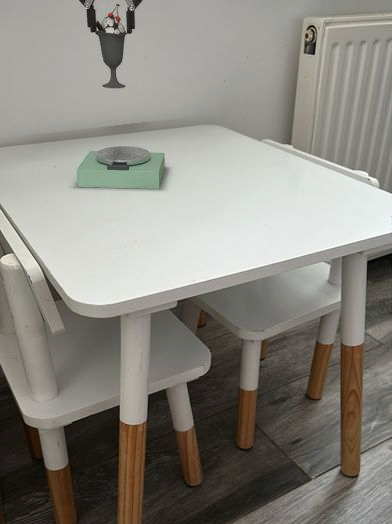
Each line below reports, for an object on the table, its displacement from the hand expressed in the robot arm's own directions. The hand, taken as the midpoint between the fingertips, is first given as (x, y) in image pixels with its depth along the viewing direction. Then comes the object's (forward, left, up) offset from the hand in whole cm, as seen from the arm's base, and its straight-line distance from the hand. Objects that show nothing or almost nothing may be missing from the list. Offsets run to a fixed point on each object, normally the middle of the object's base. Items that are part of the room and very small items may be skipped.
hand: (111, 31), depth 113 cm
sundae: (0, 0, -10) cm, 10 cm away
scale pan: (+5, -28, -17) cm, 33 cm away
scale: (+5, -29, -21) cm, 36 cm away
